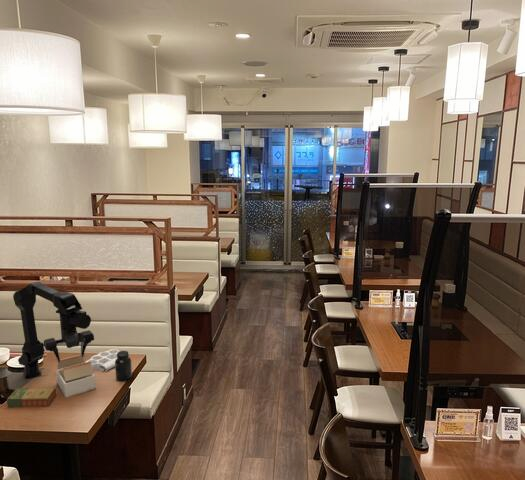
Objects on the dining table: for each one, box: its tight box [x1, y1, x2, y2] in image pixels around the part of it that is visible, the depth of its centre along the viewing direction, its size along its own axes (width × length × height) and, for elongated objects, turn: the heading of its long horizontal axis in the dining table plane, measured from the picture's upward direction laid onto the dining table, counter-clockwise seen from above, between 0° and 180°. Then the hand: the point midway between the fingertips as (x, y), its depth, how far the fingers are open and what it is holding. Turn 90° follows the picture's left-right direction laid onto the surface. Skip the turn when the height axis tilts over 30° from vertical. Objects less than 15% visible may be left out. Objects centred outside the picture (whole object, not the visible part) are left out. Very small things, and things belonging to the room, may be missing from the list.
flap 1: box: [56, 353, 86, 370], centre depth 203 cm, size 5×11×1 cm
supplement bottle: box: [114, 350, 133, 382], centre depth 207 cm, size 7×7×12 cm
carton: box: [6, 387, 57, 408], centre depth 189 cm, size 8×16×4 cm, turn 93°
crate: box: [55, 368, 96, 398], centre depth 200 cm, size 14×12×6 cm
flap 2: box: [62, 361, 94, 381], centre depth 195 cm, size 5×11×1 cm
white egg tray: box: [84, 348, 120, 372], centre depth 222 cm, size 3×18×15 cm
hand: (70, 359), depth 197 cm, fingers open, 9 cm apart
